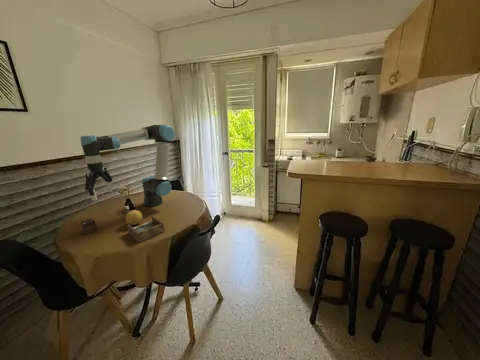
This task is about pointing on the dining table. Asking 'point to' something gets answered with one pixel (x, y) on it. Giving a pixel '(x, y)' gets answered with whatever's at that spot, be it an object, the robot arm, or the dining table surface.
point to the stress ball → (134, 217)
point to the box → (88, 226)
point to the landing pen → (146, 229)
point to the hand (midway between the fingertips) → (102, 195)
